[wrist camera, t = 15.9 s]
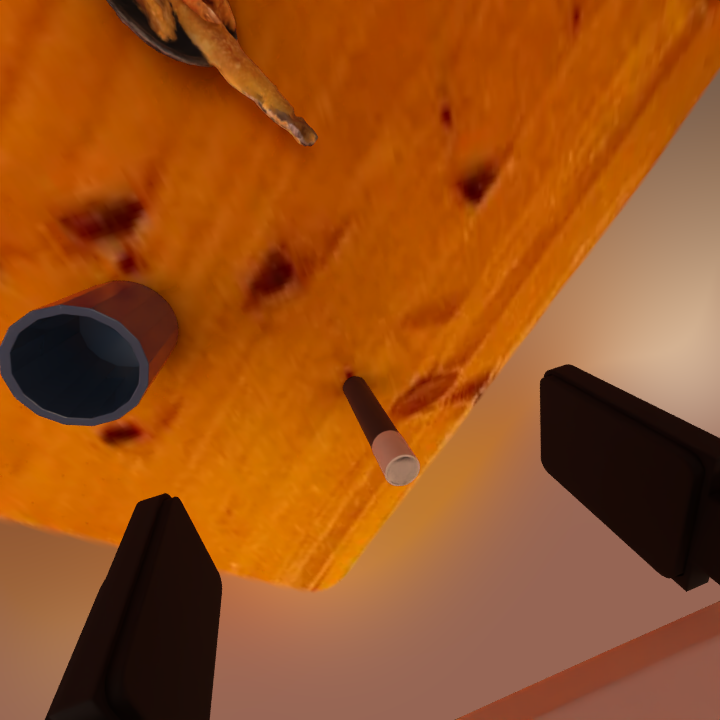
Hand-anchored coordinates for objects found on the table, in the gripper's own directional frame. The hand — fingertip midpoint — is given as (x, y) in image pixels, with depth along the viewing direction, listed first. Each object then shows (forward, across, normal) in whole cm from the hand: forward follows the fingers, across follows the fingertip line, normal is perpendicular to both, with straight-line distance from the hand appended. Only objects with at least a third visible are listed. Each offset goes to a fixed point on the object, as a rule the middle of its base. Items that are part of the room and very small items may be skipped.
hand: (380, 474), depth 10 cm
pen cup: (+24, +13, -1) cm, 27 cm away
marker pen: (+24, -3, +10) cm, 26 cm away
